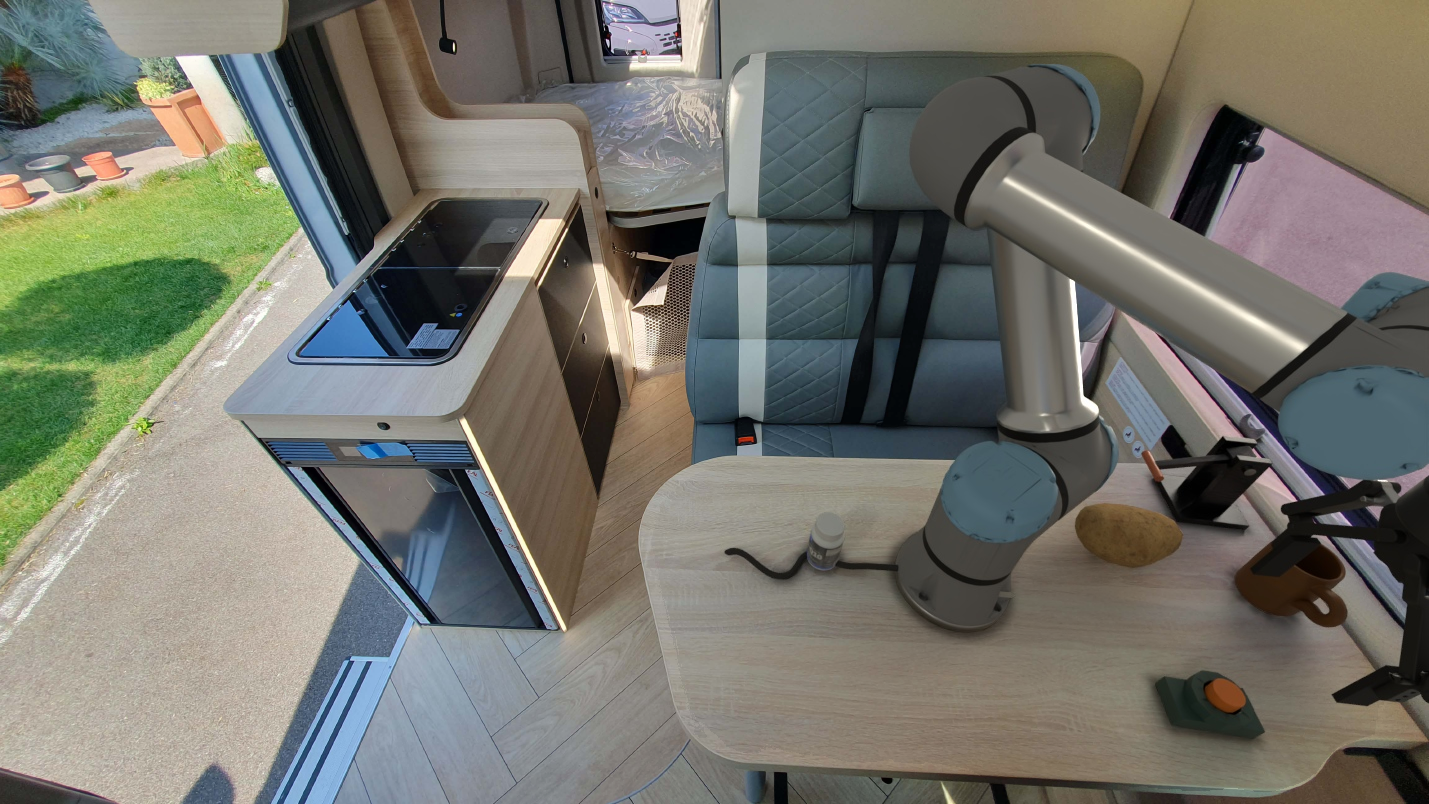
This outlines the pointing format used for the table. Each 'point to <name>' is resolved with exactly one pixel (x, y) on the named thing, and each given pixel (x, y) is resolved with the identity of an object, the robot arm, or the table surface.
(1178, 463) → the lever
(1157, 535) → the potato
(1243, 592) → the mug
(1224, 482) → the bracket
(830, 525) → the pill bottle
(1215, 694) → the button
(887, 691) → the table surface
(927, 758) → the table surface
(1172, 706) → the button block
